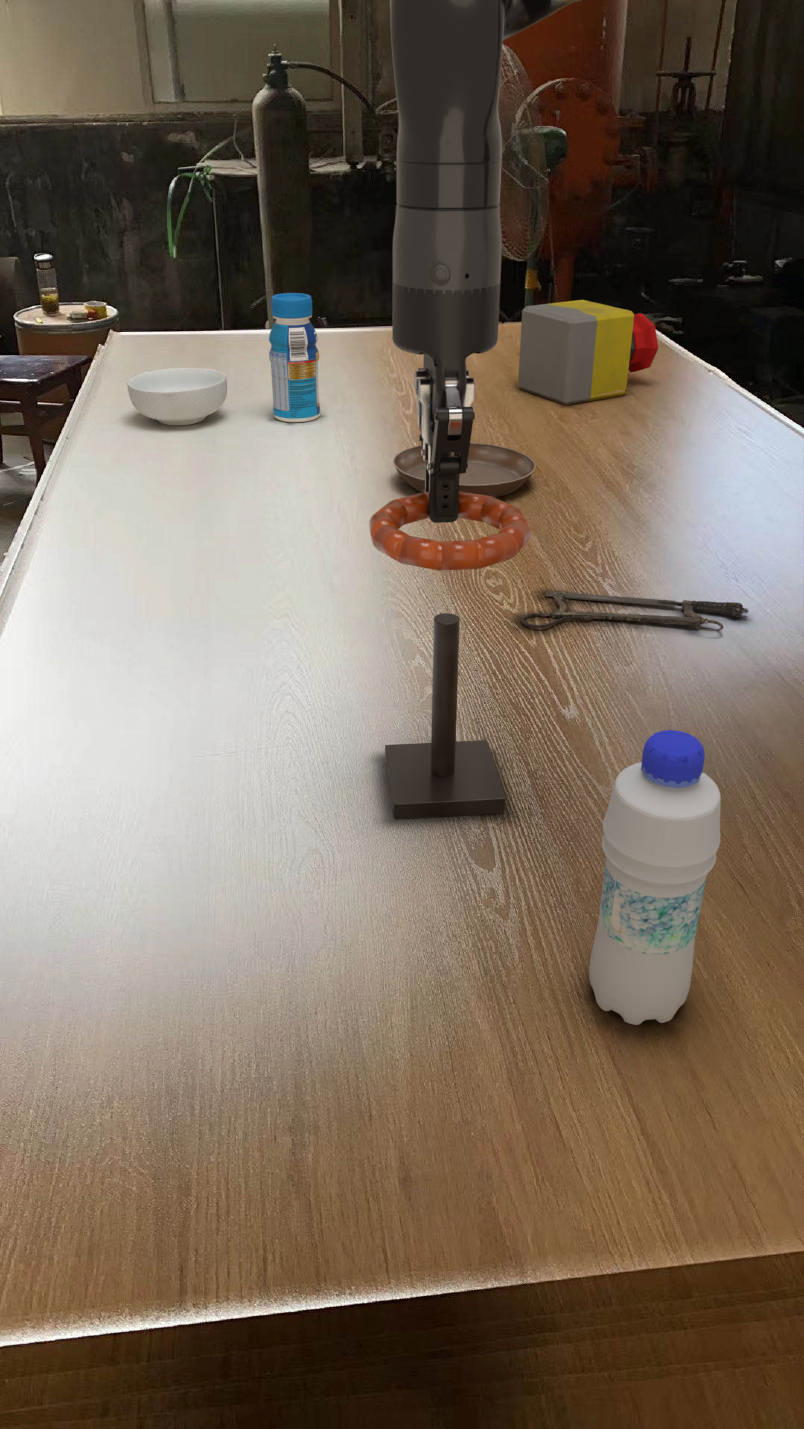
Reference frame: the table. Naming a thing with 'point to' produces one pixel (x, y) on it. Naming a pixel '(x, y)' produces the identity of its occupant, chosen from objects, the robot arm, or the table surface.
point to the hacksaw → (688, 606)
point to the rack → (443, 750)
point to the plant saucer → (474, 469)
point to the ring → (450, 552)
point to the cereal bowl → (178, 394)
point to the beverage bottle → (294, 359)
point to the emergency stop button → (582, 350)
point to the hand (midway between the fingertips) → (441, 513)
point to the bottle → (654, 879)
